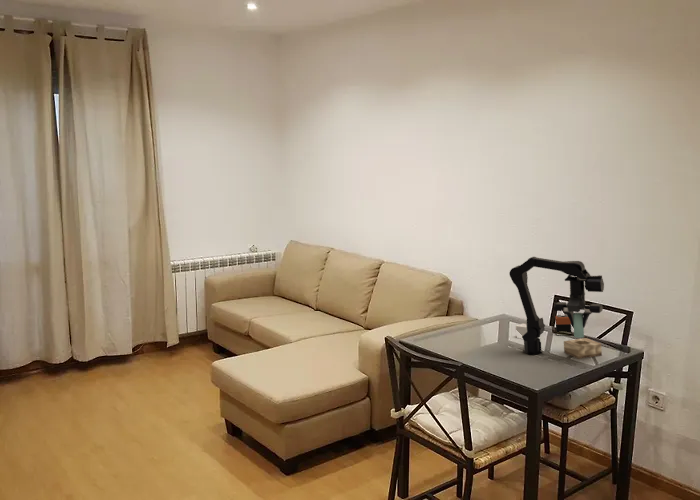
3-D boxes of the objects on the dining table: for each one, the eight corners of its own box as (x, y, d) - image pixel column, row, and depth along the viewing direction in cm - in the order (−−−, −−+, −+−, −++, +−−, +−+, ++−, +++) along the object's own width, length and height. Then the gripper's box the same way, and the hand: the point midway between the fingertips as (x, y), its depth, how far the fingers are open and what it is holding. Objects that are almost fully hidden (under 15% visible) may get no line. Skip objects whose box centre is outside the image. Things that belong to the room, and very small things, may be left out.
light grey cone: (533, 336, 299) (533, 324, 298) (527, 339, 295) (526, 327, 294) (522, 335, 303) (522, 323, 303) (516, 337, 299) (515, 325, 299)
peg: (577, 338, 258) (576, 314, 257) (572, 336, 262) (571, 313, 261) (585, 337, 259) (585, 313, 257) (580, 334, 262) (579, 312, 261)
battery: (571, 335, 295) (570, 315, 294) (556, 336, 297) (555, 315, 296) (570, 333, 299) (569, 313, 298) (556, 333, 301) (555, 313, 300)
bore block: (578, 358, 259) (578, 347, 258) (564, 352, 269) (563, 341, 269) (601, 355, 261) (601, 343, 260) (586, 349, 272) (585, 338, 271)
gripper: (549, 293, 257) (550, 330, 259) (596, 295, 246) (597, 333, 248) (556, 289, 266) (558, 324, 268) (602, 290, 255) (603, 327, 257)
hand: (578, 327), depth 260 cm, fingers closed on peg, 4 cm apart
